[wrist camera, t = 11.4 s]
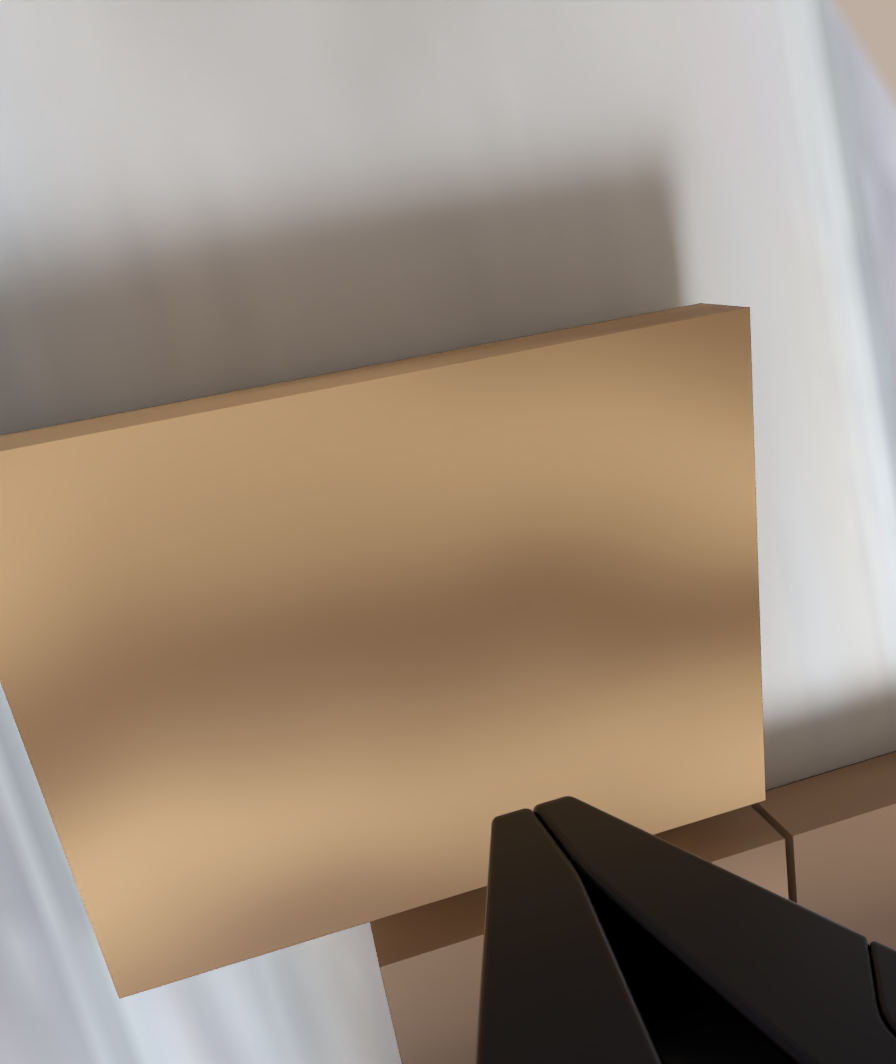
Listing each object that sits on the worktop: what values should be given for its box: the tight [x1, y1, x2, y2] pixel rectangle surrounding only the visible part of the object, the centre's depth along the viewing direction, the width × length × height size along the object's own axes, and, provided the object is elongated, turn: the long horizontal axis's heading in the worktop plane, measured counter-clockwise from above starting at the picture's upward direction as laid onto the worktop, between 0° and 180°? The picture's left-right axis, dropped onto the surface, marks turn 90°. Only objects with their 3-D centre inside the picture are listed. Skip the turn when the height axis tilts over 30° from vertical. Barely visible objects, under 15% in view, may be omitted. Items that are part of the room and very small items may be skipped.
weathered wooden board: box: [370, 752, 896, 1064], centre depth 20 cm, size 9×18×2 cm, turn 100°
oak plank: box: [0, 303, 766, 999], centre depth 15 cm, size 10×13×2 cm
